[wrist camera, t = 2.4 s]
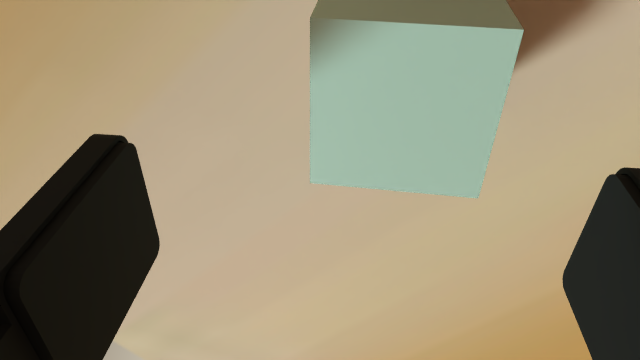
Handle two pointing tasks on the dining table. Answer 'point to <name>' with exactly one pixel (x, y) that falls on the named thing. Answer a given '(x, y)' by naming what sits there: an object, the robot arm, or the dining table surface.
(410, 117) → the sage block
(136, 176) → the robot arm
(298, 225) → the dining table surface
